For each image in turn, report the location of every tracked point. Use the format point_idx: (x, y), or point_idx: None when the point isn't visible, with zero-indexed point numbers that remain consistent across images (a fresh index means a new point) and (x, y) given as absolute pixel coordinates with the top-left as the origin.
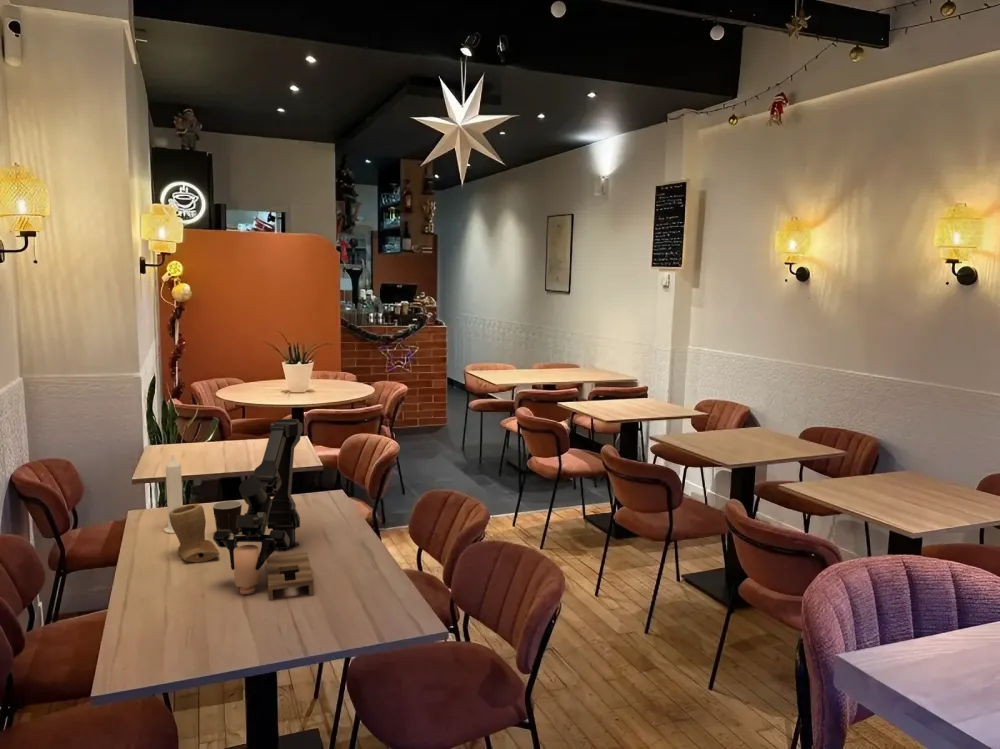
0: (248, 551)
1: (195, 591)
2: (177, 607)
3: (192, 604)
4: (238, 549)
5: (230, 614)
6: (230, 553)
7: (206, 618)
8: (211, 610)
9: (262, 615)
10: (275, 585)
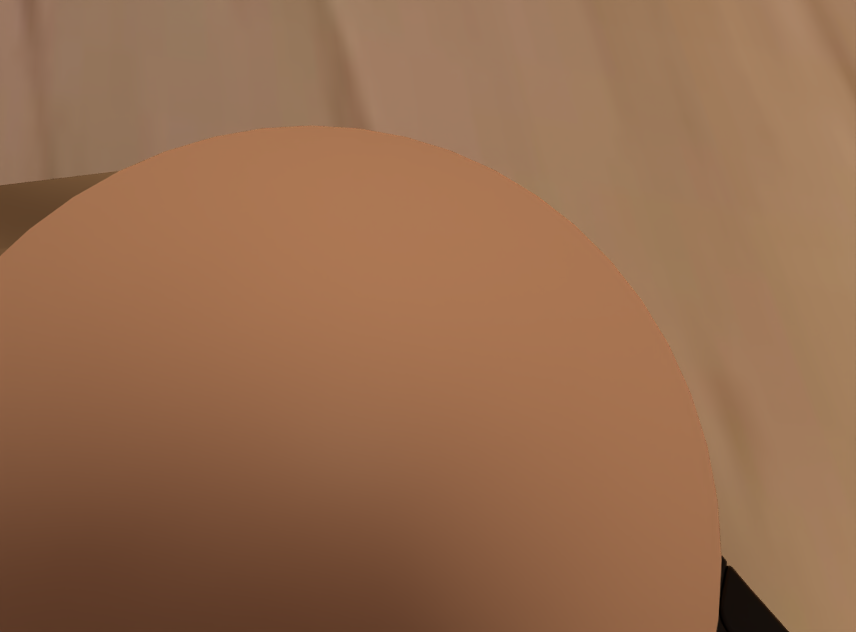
0: (191, 243)
1: (827, 515)
2: (848, 230)
3: (759, 263)
4: (557, 493)
5: (446, 64)
6: (750, 606)
7: (591, 36)
8: (591, 144)
9: (229, 15)
10: (56, 181)
